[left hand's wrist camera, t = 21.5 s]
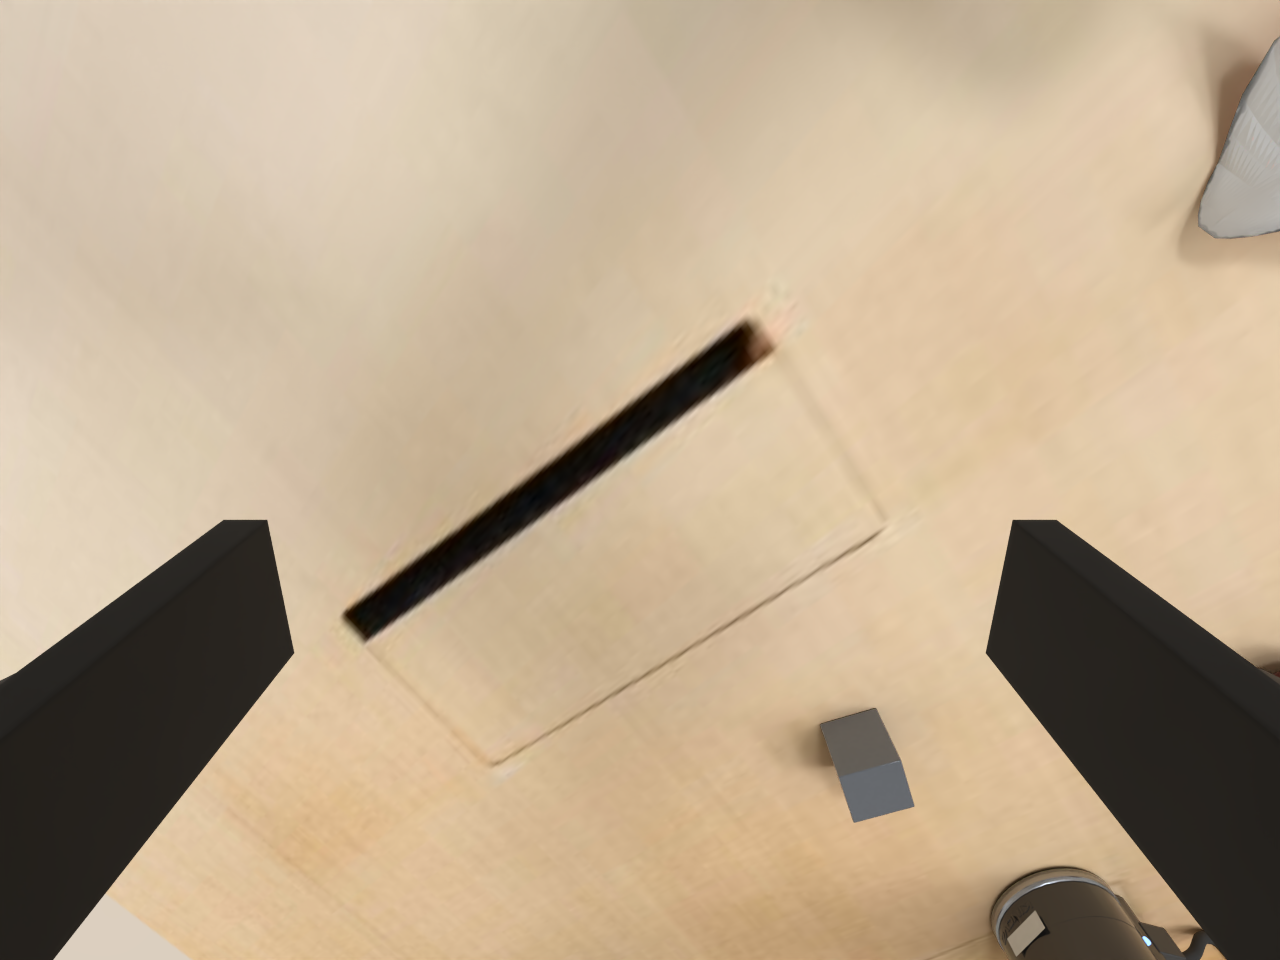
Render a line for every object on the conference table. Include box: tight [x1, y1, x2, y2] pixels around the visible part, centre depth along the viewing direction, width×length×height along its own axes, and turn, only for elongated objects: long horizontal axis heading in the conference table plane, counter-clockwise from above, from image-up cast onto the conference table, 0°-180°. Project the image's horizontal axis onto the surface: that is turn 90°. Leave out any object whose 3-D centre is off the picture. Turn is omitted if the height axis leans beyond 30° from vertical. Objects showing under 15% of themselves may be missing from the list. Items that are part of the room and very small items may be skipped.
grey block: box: [820, 708, 914, 823], centre depth 47 cm, size 4×4×5 cm
